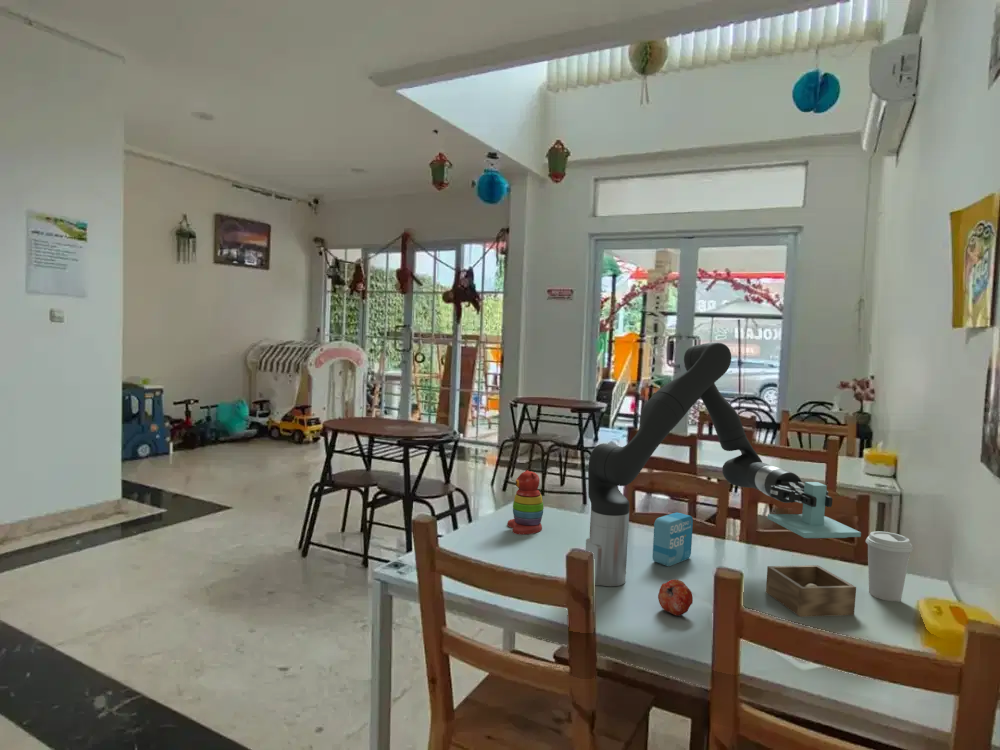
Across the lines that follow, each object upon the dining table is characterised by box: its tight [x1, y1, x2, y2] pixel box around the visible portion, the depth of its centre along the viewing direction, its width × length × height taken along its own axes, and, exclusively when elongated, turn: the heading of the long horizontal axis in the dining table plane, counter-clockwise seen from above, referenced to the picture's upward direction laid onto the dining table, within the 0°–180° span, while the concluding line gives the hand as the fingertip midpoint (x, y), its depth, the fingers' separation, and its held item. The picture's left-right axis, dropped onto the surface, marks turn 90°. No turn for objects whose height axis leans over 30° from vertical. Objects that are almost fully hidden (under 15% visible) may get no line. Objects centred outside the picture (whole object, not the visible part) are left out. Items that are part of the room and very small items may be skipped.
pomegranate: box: [657, 578, 694, 617], centre depth 139 cm, size 7×7×10 cm
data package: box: [652, 512, 694, 567], centre depth 171 cm, size 12×4×12 cm, turn 132°
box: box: [765, 564, 857, 618], centre depth 144 cm, size 13×13×7 cm
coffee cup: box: [865, 530, 914, 603], centre depth 150 cm, size 10×10×15 cm
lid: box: [767, 481, 862, 539], centre depth 143 cm, size 14×14×11 cm
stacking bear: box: [506, 469, 545, 536], centre depth 193 cm, size 11×10×18 cm
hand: (822, 502), depth 140 cm, fingers closed on lid, 3 cm apart
